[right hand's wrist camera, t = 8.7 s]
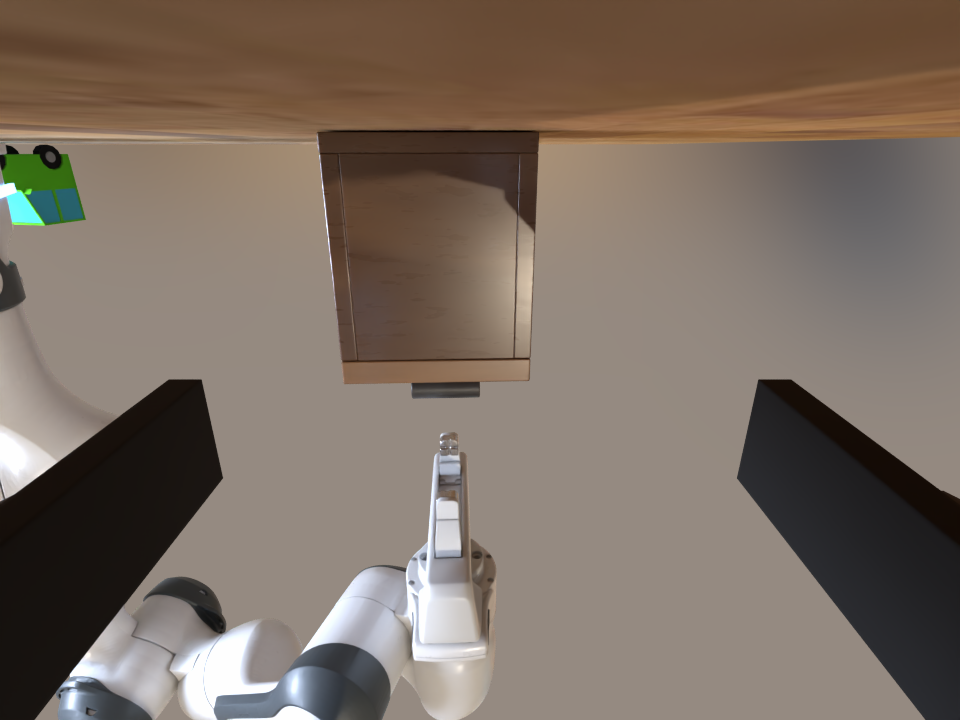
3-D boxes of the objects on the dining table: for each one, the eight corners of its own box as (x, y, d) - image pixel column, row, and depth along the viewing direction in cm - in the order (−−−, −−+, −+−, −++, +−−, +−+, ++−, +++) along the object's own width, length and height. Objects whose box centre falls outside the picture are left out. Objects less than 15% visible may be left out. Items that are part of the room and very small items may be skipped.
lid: (503, 280, 44) (501, 380, 47) (384, 281, 44) (391, 382, 47) (530, 359, 27) (524, 503, 31) (341, 362, 27) (356, 508, 31)
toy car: (-35, 144, 60) (-5, 233, 63) (71, 144, 72) (91, 219, 75) (-104, 144, 62) (-71, 231, 65) (10, 145, 74) (33, 218, 77)
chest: (506, 138, 39) (503, 281, 43) (373, 138, 39) (383, 282, 43) (539, 131, 23) (530, 358, 27) (316, 131, 23) (341, 361, 27)
